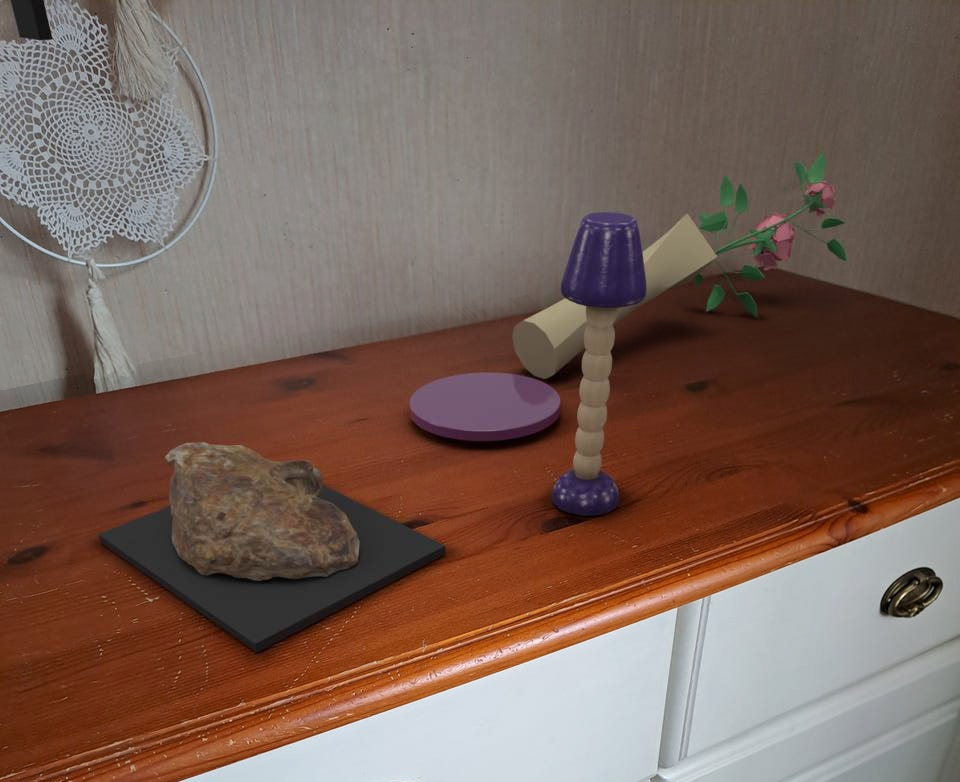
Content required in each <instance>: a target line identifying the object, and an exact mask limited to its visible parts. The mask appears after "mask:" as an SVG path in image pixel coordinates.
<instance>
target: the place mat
mask: <svg viewBox="0 0 960 782" xmlns="http://www.w3.org/2000/svg"><path fill="white" fill-rule="evenodd" d="M318 497H319V498H320V499H323V500H325V501H328V502H330V503H332V504H334V505H335V506H336V507H338V508H339V509H340V510H341V511H342V512H344V513H345V514H346V515H347V518H348V520H349V522H350V524H351V525H352V527H353V529H354V530H355V531H356V532H357V537H358V539H359V541H360V543H359V556H358V559H357V563H356V564H355V565H354V566H352V567H350V568H348V569H344V570H339V571H336V572H334V573H332V574H330V575H329V576H326V577H325V576H314V577H305V578H300V579H290V578H285V577H279V576H278V577H272V578H270V579H267V580H261V581H257V580H251V579H248V578H235V577H233V576H232V575H228V574H225V573H214V574H211V575H208V576H207V575H202V574H200V573H199V572H198V571H197V570H196V568H195V567H194V566H192V565H189V564H188V563H187V562H186V561H184V560H183V559H182V558H180V557H179V555H178V553H177V551H176V549H175V547H174V545H173V543H172V521H173V516H172V514H171V505H169V506H166V507H163V508H161V509H158V510H155V511H153V512H151V513H148V514H146V515H143V516H140V517H138V518H135V519H133V520H130V521H128V522H125V523H122V524H120V525H118V526H115V527H113V528H110V529H108V530H105V531H102V532H100V533H98V538H99V542H100V543H101V544H103V545H104V547H107V548H108V549H109V550H111V551H112V553H115V554H116V555H118V556H119V557H120V558H122V559H123V560H125V561H126V562H127V563H129V564H130V565H132V566H134V568H136V569H137V570H139V571H140V572H142V573H143V574H145V575H146V576H147V577H149V579H152V580H153V581H154V582H156V583H157V584H158V585H160V586H161V587H162V588H164V589H166V590H167V591H168V592H170V593H171V594H173V595H174V596H176V597H177V598H178V599H180V600H181V601H183V602H184V603H186V604H187V605H188V606H190V607H191V608H193V609H194V610H195V611H197V612H198V613H200V614H201V615H203V616H204V617H205V618H206V619H208V620H210V621H211V622H212V623H214V624H215V625H216V626H218V627H220V628H221V629H222V630H224V631H225V632H227V633H228V634H229V635H231V636H232V637H234V638H235V639H237V640H238V641H239V642H241V643H242V644H243V645H245V646H247V647H248V648H249V649H250V650H252V651H253V652H255V653H260V652H262V651H264V650H266V649H267V648H269V647H271V646H273V645H275V644H277V643H278V642H281V641H283V640H285V639H287V638H289V637H290V636H293V635H294V634H297V633H298V632H300V631H301V630H304V629H305V628H307V627H310V626H311V625H313V624H316V623H317V622H319V621H321V620H323V619H325V618H327V617H328V616H330V615H332V614H334V613H337V612H338V611H340V610H342V609H344V608H345V607H346V608H347V606H350V605H351V604H354V603H355V602H357V601H360V600H361V599H363V598H365V597H367V596H370V594H373V593H374V592H376V591H379V590H380V589H382V588H384V587H387V586H388V585H390V584H392V583H394V582H396V581H398V580H399V579H401V578H403V577H405V576H407V575H409V574H411V573H413V572H415V571H416V570H418V569H421V568H422V567H424V566H426V565H429V564H430V563H432V562H433V561H434V562H435V561H436V560H438V559H440V558H442V557H443V556H445V555H446V553H447V552H446V545H444V544H443V543H440V542H438V541H437V540H435V539H434V538H433V539H432V538H431V537H428V536H427V535H425V534H423V533H420V532H418V531H416V530H414V529H412V528H411V527H409V526H406V525H405V524H403V523H400V522H398V521H397V520H395V519H393V518H390V517H388V516H387V515H385V514H383V513H381V512H378V511H376V510H374V509H373V508H371V507H369V506H367V505H365V504H362V503H360V502H359V501H357V500H354V499H353V498H351V497H348V496H346V495H345V494H343V493H340V492H338V491H337V490H334V489H332V488H331V487H329V486H326V484H325V485H324V484H323V483H322V488H321V491H320V493H319V495H318Z"/></svg>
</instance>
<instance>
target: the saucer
mask: <svg viewBox="0 0 960 782" xmlns="http://www.w3.org/2000/svg"><path fill="white" fill-rule="evenodd" d="M561 407H562V400H561V396H560V394H559V393H558V391H557V390H556V389H555V388H553V387H552V386H551V385H550V384H548V383H546V382H543V381H541V380H539V379H536V378H532V377H529V376H525V375H522V374H521V375H519V374H514V373H507V372H506V373H505V372H472V373H471V372H470V373H461V374H455V375H451V376H445V377H441V378H438V379H436V380H433V381H431V382H428V383H427V384H424V385H422V386H420V388H418V389H416V390H415V391H414V392H413V394H412V395H411V397H410V399H409V415H410V418H411V420H412V421H413V423H414V424H416V425H417V426H418V427H419V428H421V429H422V430H424V431H427V432H428V433H429V434H433V435H436V436H439V437H443V438H446V439H453V440H458V441H467V442H469V441H470V442H498V441H506V440H507V441H508V440H512V439H518V438H523V437H527V436H531V435H533V434H536V433H538V432H541V431H543V430H546V429H547V428H548V427H550V426H551V425H553V424H554V423H555V422H556V421H557V420H558V418H559V417H560V414H561Z"/></svg>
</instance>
